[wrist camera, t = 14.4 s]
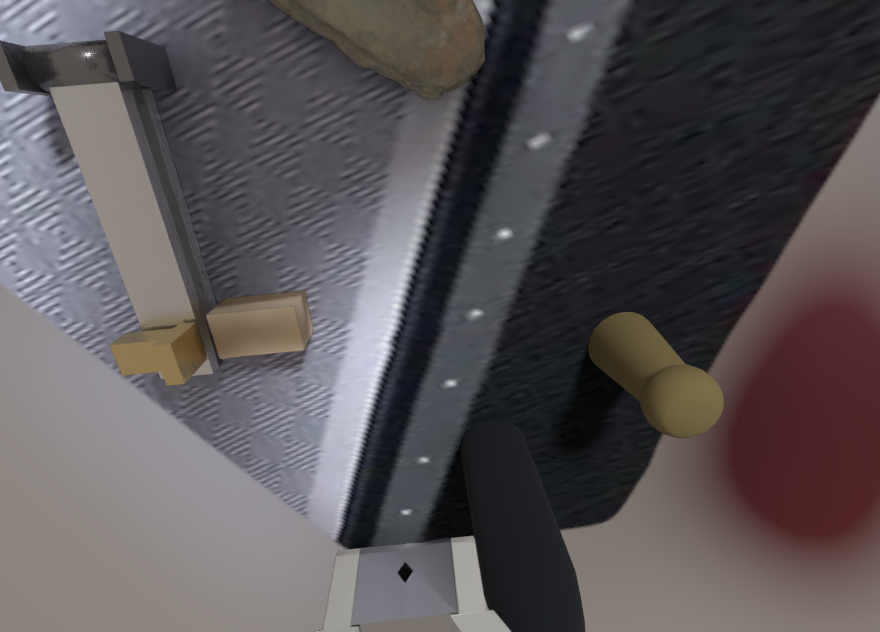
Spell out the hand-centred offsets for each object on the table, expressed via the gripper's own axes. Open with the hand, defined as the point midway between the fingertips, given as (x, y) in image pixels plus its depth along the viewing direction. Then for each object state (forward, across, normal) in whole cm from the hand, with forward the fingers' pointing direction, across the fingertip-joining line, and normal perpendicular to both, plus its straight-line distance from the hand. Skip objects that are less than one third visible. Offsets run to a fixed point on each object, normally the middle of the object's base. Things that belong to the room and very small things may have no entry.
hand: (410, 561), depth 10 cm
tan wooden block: (+27, +12, +4) cm, 30 cm away
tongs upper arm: (+25, +18, -4) cm, 31 cm away
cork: (+27, -18, +10) cm, 34 cm away
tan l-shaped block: (+23, +18, +4) cm, 30 cm away
